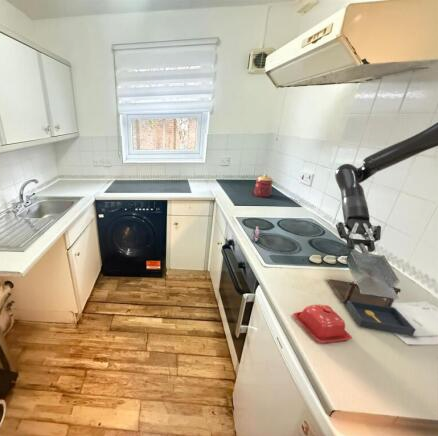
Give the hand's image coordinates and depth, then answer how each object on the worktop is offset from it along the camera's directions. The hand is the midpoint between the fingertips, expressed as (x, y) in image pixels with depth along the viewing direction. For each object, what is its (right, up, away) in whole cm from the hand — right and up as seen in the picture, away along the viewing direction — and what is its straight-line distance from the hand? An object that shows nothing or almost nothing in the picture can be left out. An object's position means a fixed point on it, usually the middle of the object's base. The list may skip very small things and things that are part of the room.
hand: (361, 250), depth 87 cm
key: (-6, -20, -11) cm, 24 cm away
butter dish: (-26, -22, -14) cm, 37 cm away
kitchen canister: (+18, +31, +113) cm, 119 cm away
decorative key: (-19, +2, +44) cm, 48 cm away
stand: (-2, -16, 0) cm, 16 cm away
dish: (-2, -7, -3) cm, 7 cm away
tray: (-5, -21, -11) cm, 24 cm away
